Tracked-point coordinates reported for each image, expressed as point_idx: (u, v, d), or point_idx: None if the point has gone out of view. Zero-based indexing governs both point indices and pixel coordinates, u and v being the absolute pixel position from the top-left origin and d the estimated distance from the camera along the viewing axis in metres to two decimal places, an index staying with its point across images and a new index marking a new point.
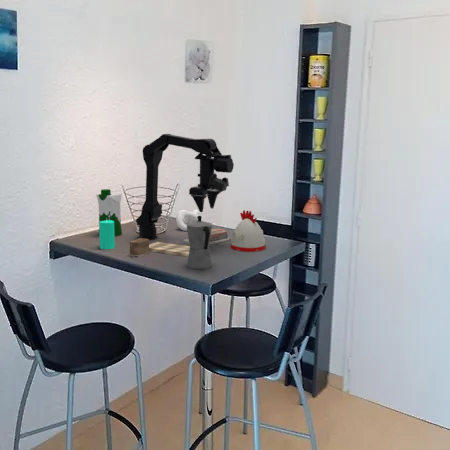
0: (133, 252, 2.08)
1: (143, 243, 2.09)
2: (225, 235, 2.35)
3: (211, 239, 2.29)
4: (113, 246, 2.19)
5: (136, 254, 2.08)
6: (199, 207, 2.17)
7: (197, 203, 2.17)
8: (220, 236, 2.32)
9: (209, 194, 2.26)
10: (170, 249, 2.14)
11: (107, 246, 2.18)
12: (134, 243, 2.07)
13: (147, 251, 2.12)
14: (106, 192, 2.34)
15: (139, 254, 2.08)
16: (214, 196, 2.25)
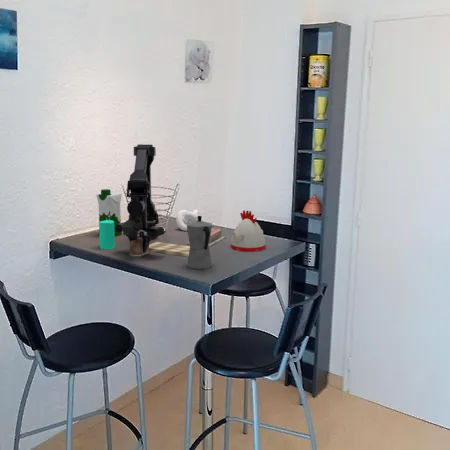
0: (133, 252, 2.08)
1: None
2: (220, 233, 2.37)
3: (214, 238, 2.30)
4: (113, 246, 2.19)
5: (136, 254, 2.08)
6: None
7: None
8: (218, 235, 2.35)
9: None
10: (170, 249, 2.14)
11: (107, 246, 2.18)
12: (134, 243, 2.07)
13: (147, 251, 2.12)
14: (106, 192, 2.34)
15: (139, 254, 2.08)
16: None
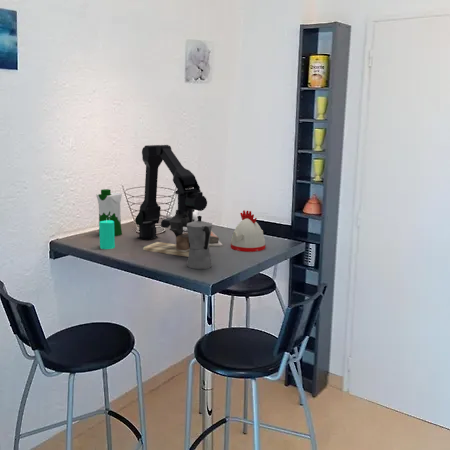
0: (180, 247, 2.11)
1: None
2: None
3: None
4: (113, 246, 2.19)
5: (182, 249, 2.11)
6: None
7: None
8: None
9: None
10: (170, 249, 2.14)
11: (107, 246, 2.18)
12: (181, 238, 2.10)
13: None
14: (106, 192, 2.34)
15: (185, 249, 2.11)
16: None
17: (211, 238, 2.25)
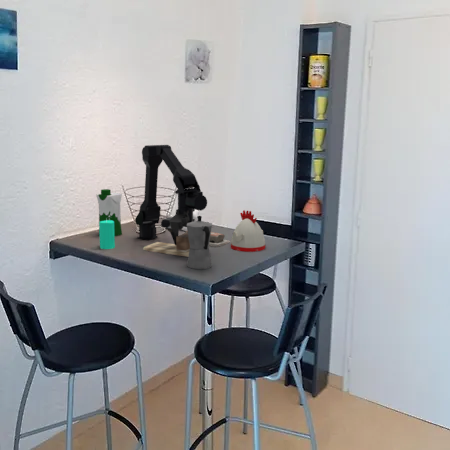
0: (180, 247, 2.11)
1: None
2: None
3: None
4: (113, 246, 2.19)
5: (183, 249, 2.11)
6: None
7: None
8: None
9: None
10: (170, 249, 2.14)
11: (107, 246, 2.18)
12: (181, 238, 2.10)
13: None
14: (106, 192, 2.34)
15: (186, 249, 2.11)
16: None
17: (221, 236, 2.28)
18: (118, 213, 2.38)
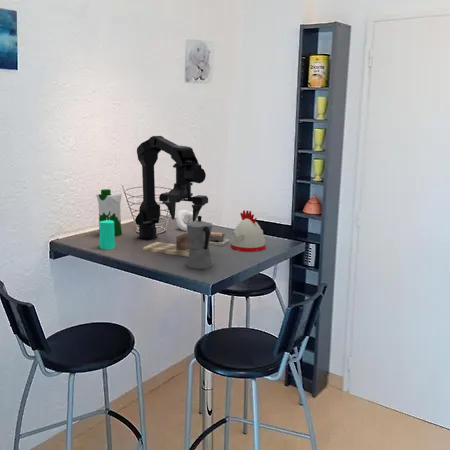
0: (180, 247, 2.11)
1: None
2: None
3: None
4: (113, 246, 2.19)
5: (183, 249, 2.11)
6: None
7: None
8: None
9: None
10: (170, 249, 2.14)
11: (107, 246, 2.18)
12: (181, 238, 2.10)
13: None
14: (106, 192, 2.34)
15: (186, 249, 2.11)
16: None
17: (223, 235, 2.30)
18: (118, 213, 2.38)
